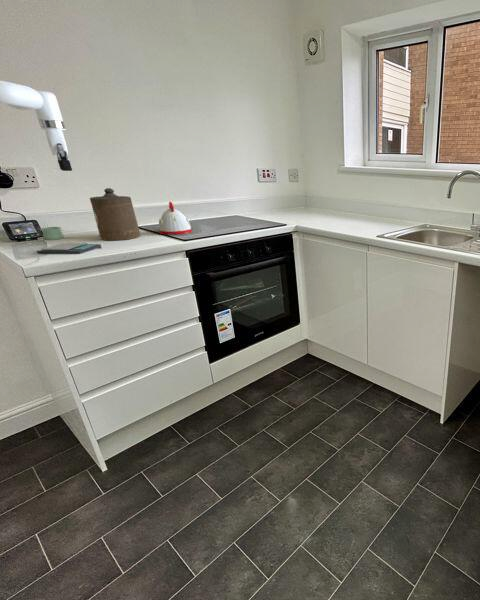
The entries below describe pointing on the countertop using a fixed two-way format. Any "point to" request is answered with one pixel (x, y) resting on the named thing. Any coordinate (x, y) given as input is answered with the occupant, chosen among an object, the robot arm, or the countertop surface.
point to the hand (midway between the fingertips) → (66, 170)
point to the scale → (69, 248)
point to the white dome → (173, 222)
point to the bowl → (52, 233)
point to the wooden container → (115, 216)
